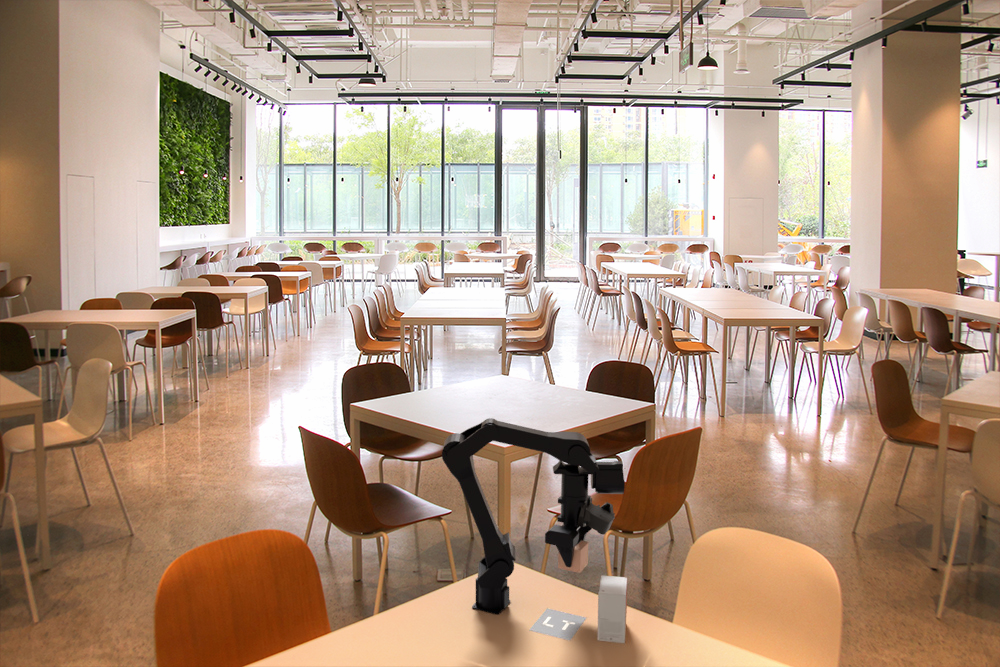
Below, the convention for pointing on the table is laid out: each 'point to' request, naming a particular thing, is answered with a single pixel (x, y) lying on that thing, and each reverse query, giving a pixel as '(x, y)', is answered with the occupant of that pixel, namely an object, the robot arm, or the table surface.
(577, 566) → the block
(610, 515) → the robot arm
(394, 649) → the table surface
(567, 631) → the tile
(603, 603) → the small box
